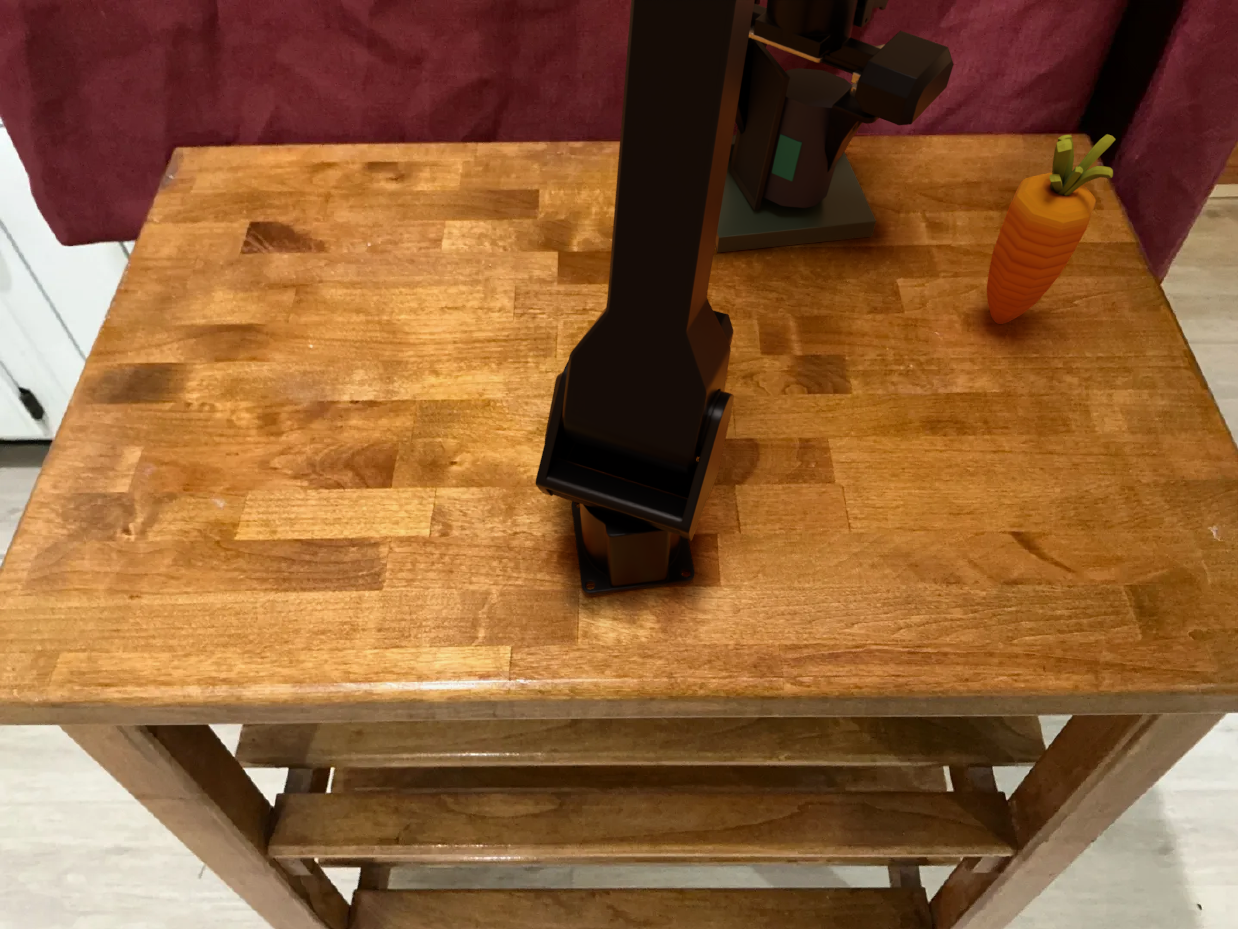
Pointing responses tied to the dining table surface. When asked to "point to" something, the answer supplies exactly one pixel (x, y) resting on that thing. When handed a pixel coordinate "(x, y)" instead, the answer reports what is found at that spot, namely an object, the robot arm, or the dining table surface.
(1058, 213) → the carrot
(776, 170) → the speaker
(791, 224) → the dark grey square base
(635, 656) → the dining table surface
